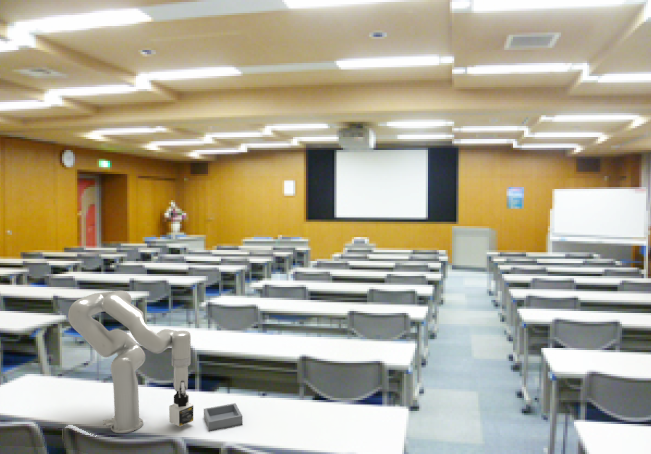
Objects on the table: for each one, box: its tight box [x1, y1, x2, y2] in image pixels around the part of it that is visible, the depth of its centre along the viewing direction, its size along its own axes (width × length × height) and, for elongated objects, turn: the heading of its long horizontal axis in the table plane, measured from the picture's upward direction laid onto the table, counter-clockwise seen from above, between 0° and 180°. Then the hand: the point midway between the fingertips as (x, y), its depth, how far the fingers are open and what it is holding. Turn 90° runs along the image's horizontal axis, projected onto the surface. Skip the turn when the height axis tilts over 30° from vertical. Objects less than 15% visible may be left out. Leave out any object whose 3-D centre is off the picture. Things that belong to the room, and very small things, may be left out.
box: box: [203, 402, 243, 433], centre depth 205 cm, size 14×14×4 cm
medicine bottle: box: [168, 392, 194, 428], centre depth 200 cm, size 7×7×12 cm
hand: (181, 402), depth 200 cm, fingers closed on medicine bottle, 6 cm apart
